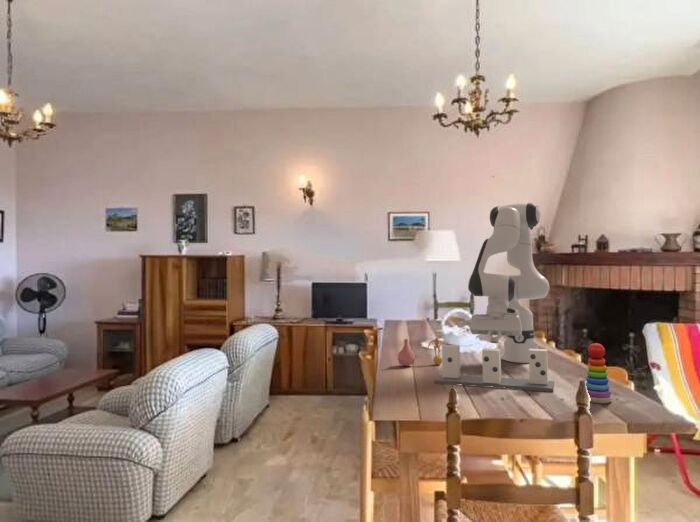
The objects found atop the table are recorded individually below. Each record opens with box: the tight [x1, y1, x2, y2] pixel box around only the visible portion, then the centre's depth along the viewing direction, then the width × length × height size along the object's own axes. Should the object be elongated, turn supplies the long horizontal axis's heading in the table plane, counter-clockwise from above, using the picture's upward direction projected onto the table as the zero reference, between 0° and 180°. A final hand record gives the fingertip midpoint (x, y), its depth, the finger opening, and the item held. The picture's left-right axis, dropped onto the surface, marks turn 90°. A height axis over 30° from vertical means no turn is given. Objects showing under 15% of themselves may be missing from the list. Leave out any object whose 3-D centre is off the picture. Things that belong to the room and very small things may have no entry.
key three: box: [528, 348, 549, 385], centre depth 186 cm, size 4×6×12 cm
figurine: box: [427, 337, 446, 366], centre depth 231 cm, size 8×6×12 cm
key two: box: [481, 347, 502, 384], centre depth 189 cm, size 4×6×12 cm
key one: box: [441, 344, 461, 378], centre depth 199 cm, size 4×6×12 cm
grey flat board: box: [434, 373, 555, 393], centre depth 192 cm, size 12×42×1 cm, turn 66°
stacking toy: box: [585, 342, 613, 404], centre depth 166 cm, size 8×8×19 cm
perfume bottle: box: [397, 338, 416, 367], centre depth 228 cm, size 8×8×12 cm
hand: (494, 342), depth 203 cm, fingers closed
